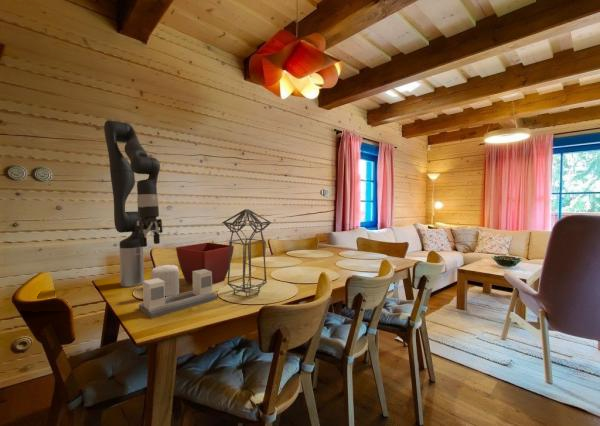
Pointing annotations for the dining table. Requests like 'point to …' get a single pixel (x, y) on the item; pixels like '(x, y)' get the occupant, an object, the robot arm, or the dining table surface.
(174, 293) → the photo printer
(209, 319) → the dining table surface
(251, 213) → the geometric lantern
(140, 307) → the rail board
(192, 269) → the plant pot
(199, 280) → the mounted modules
